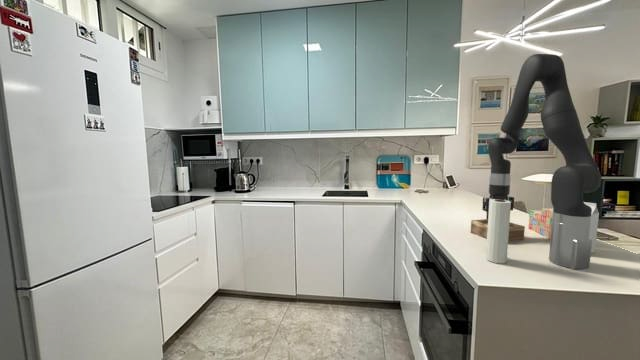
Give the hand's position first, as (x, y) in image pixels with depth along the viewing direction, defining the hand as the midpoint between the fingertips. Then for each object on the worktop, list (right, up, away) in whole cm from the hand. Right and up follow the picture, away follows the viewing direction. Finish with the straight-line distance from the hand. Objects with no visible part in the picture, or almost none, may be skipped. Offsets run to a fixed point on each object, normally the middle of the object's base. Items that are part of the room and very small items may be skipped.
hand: (497, 220), depth 117 cm
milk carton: (+19, -9, -17) cm, 27 cm away
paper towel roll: (-17, -10, -24) cm, 31 cm away
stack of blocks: (+24, -7, +1) cm, 26 cm away
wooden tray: (0, -8, +1) cm, 8 cm away
